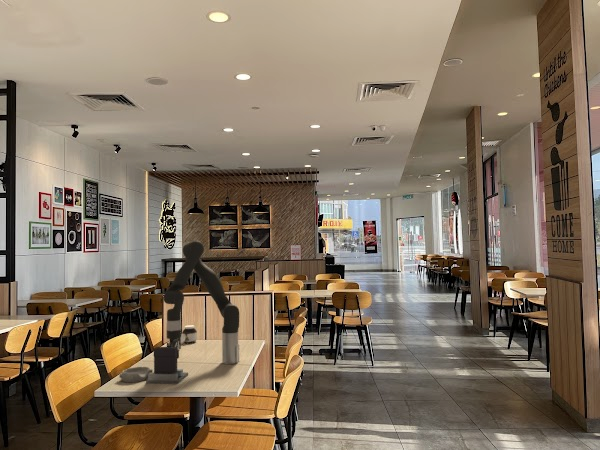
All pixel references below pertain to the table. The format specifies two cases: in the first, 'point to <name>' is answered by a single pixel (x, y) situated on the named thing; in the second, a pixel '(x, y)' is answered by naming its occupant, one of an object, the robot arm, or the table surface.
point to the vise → (165, 378)
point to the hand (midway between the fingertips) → (173, 360)
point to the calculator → (165, 360)
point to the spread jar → (189, 335)
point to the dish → (135, 374)
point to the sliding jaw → (180, 372)
